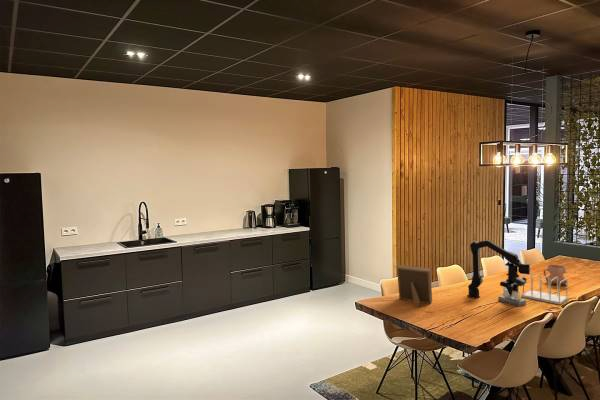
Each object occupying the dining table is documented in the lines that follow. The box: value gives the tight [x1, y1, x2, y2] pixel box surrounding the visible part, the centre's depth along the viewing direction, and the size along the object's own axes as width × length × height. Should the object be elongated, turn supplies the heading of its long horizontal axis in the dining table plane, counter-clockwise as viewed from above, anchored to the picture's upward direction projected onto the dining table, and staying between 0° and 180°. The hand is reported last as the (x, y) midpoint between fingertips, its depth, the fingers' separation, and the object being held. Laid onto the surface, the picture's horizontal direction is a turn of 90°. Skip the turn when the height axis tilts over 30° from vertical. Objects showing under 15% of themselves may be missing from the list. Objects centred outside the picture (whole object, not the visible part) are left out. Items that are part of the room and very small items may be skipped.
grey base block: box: [497, 295, 527, 307], centre depth 302 cm, size 15×8×3 cm, turn 30°
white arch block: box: [504, 289, 521, 301], centre depth 302 cm, size 10×3×6 cm, turn 30°
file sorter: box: [520, 271, 570, 305], centre depth 310 cm, size 25×17×16 cm
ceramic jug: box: [542, 264, 570, 286], centre depth 346 cm, size 18×14×14 cm
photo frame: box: [396, 264, 433, 308], centre depth 303 cm, size 15×22×25 cm
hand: (512, 295), depth 302 cm, fingers closed on white arch block, 3 cm apart
